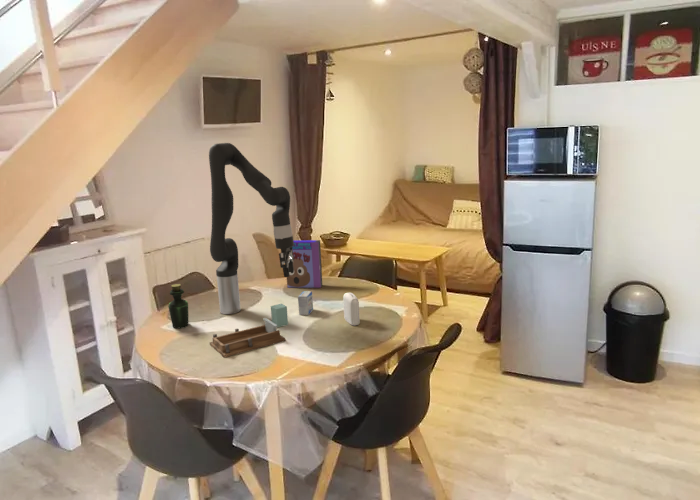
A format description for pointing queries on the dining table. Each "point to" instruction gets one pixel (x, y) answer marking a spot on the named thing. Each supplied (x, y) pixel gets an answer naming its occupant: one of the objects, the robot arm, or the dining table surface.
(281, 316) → the block
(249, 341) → the housing
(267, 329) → the gate
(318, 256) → the cereal box
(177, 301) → the potion bottle
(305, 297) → the medicine box
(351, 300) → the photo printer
